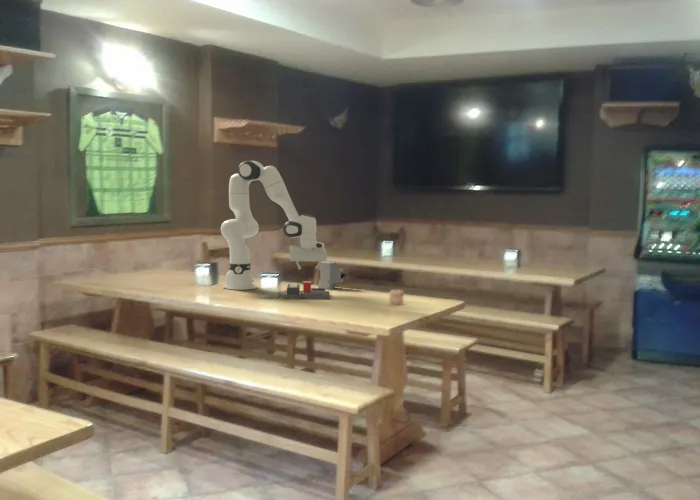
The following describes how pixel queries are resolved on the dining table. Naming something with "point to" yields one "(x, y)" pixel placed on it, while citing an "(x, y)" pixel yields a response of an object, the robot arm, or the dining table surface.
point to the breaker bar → (293, 286)
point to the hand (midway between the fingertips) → (308, 269)
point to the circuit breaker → (329, 275)
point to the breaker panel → (305, 293)
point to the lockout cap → (307, 285)
